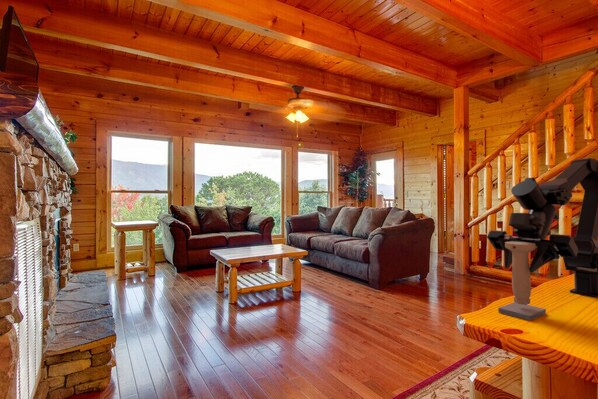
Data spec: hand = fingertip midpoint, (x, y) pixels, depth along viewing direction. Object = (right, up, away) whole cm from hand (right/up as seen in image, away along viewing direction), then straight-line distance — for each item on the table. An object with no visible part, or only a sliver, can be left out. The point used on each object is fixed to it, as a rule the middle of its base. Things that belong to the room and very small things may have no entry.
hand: (517, 269), depth 81 cm
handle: (+2, -9, +1) cm, 9 cm away
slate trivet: (+1, -11, +1) cm, 11 cm away
